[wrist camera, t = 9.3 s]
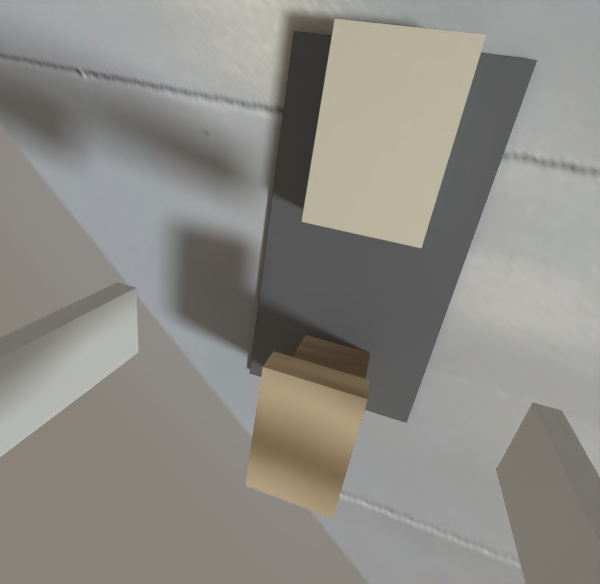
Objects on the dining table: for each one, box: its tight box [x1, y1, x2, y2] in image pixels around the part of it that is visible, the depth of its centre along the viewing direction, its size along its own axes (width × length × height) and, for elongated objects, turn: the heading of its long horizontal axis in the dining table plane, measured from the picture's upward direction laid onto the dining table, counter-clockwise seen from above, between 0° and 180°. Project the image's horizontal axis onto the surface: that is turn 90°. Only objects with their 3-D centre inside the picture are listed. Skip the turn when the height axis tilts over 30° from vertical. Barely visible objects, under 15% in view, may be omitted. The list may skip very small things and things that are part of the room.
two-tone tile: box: [302, 19, 486, 248], centre depth 20 cm, size 10×7×3 cm
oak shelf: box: [246, 335, 371, 519], centre depth 23 cm, size 8×5×10 cm, turn 170°
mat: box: [250, 31, 537, 423], centre depth 24 cm, size 24×13×1 cm, turn 170°
